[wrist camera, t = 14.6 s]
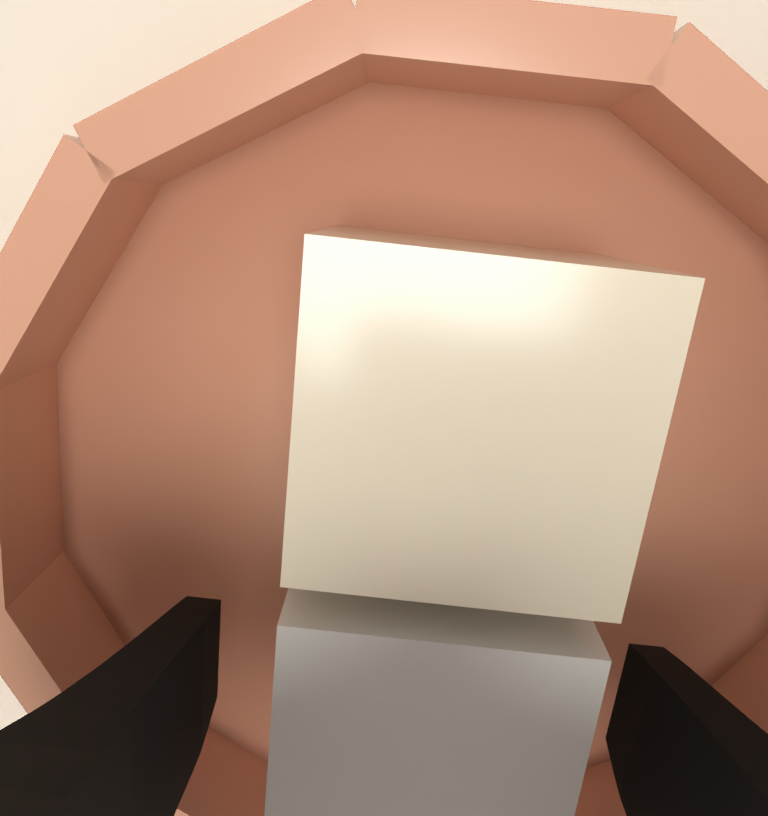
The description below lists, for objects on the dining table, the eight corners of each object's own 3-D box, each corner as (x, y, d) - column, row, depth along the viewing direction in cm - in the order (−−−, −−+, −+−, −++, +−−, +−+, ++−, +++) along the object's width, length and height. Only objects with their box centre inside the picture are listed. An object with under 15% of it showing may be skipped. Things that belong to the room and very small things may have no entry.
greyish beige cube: (547, 522, 12) (611, 661, 9) (510, 713, 14) (552, 908, 10) (315, 497, 12) (276, 625, 9) (299, 691, 14) (260, 878, 10)
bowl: (966, 100, 11) (1136, 68, 8) (724, 834, 15) (787, 956, 13) (11, -6, 11) (-106, -71, 8) (50, 763, 15) (-19, 872, 13)
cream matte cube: (600, 254, 11) (704, 277, 7) (553, 494, 12) (620, 623, 8) (338, 225, 11) (304, 234, 7) (317, 469, 12) (280, 587, 8)
